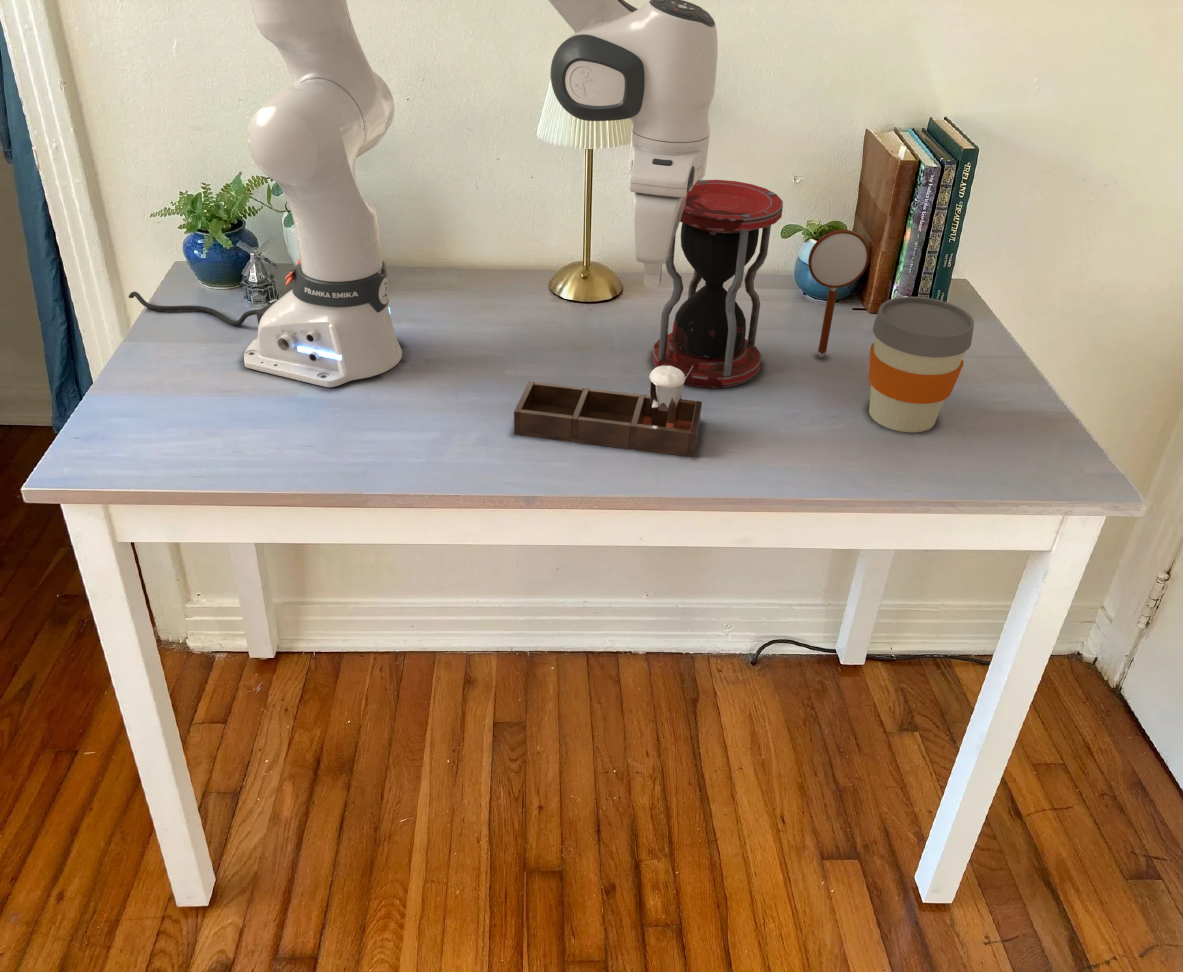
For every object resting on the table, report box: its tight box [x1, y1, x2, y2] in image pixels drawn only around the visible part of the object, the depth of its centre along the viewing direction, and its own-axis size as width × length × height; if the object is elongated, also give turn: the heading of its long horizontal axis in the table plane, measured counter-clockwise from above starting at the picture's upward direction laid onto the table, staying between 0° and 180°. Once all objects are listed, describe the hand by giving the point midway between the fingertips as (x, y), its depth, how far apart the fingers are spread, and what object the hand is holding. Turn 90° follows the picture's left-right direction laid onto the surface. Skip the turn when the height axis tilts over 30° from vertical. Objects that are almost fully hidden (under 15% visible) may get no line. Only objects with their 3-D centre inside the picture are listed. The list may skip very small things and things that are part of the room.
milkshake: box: [649, 366, 693, 428], centre depth 128 cm, size 4×5×10 cm
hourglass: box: [651, 179, 784, 389], centre depth 142 cm, size 16×16×25 cm
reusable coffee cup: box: [867, 296, 975, 433], centre depth 134 cm, size 13×13×15 cm
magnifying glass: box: [807, 229, 870, 358], centre depth 146 cm, size 9×2×20 cm, turn 91°
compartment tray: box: [513, 380, 703, 458], centre depth 132 cm, size 24×8×4 cm, turn 80°
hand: (657, 270), depth 122 cm, fingers open, 8 cm apart
